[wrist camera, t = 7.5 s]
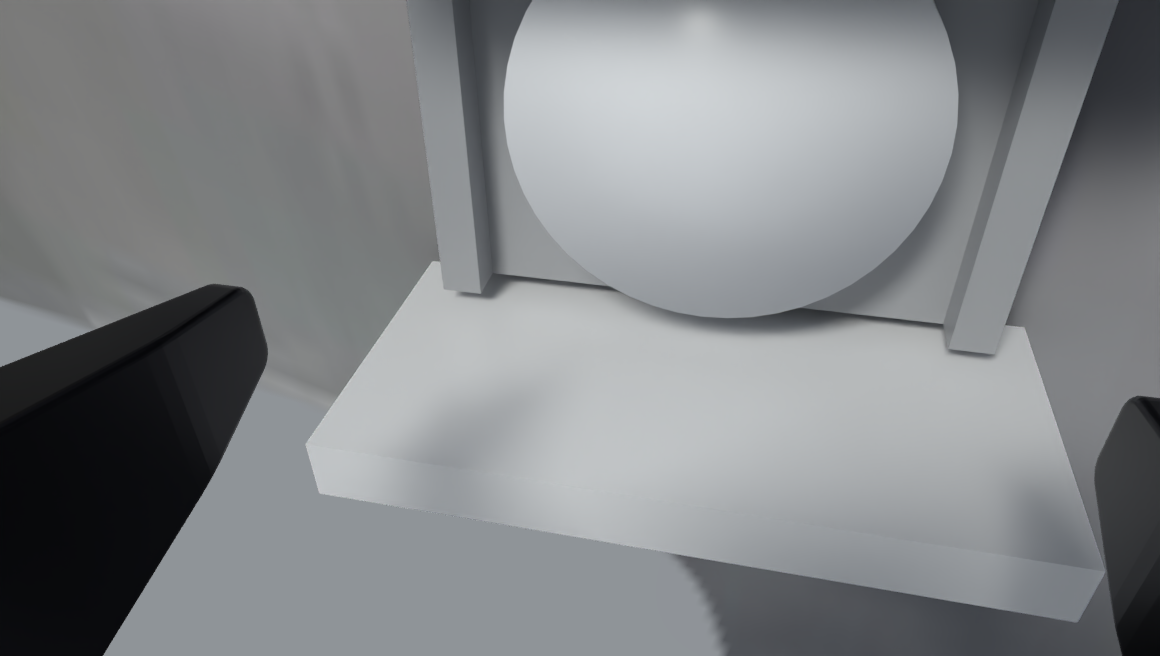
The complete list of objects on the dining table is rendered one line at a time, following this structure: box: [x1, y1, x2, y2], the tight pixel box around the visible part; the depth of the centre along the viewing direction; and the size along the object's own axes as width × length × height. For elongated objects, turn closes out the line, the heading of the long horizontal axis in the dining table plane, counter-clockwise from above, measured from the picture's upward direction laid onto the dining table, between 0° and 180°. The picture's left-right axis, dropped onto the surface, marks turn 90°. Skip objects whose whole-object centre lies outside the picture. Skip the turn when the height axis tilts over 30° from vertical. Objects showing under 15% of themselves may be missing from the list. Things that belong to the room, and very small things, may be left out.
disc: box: [504, 0, 959, 318], centre depth 14 cm, size 7×7×2 cm
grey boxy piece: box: [305, 0, 1119, 623], centre depth 13 cm, size 12×11×6 cm
